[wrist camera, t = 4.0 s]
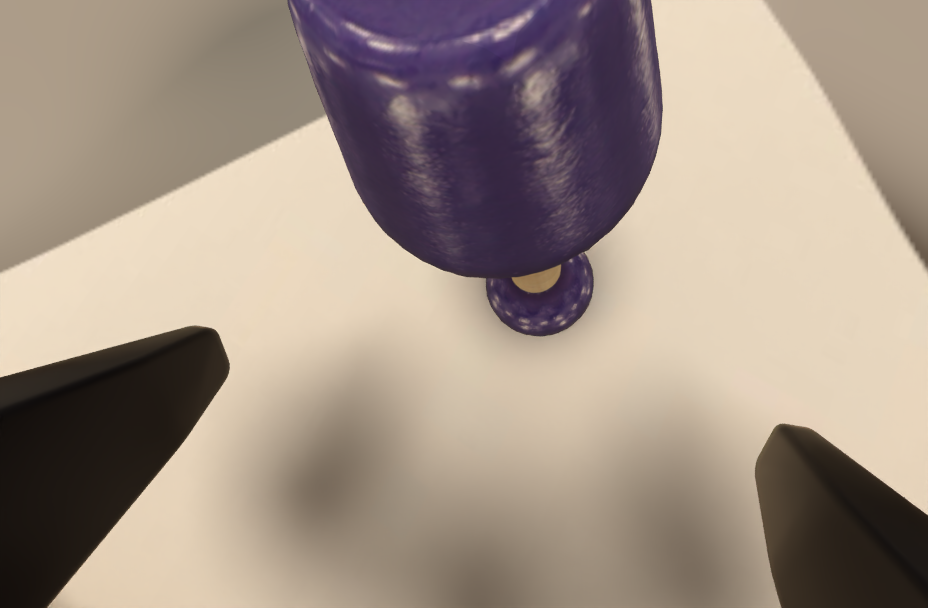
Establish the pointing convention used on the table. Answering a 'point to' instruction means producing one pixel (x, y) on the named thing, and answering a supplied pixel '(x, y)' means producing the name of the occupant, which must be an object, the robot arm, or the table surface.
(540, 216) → the toy lamp
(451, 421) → the table surface
